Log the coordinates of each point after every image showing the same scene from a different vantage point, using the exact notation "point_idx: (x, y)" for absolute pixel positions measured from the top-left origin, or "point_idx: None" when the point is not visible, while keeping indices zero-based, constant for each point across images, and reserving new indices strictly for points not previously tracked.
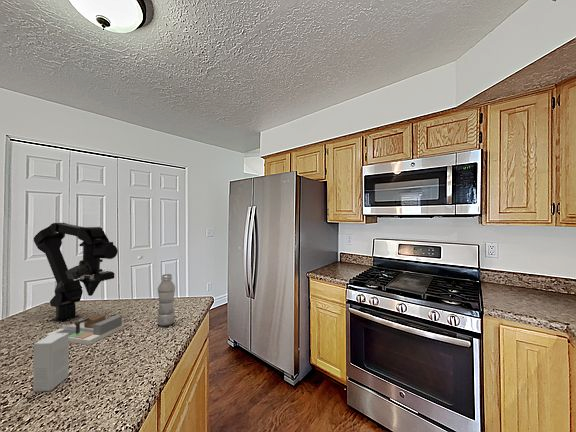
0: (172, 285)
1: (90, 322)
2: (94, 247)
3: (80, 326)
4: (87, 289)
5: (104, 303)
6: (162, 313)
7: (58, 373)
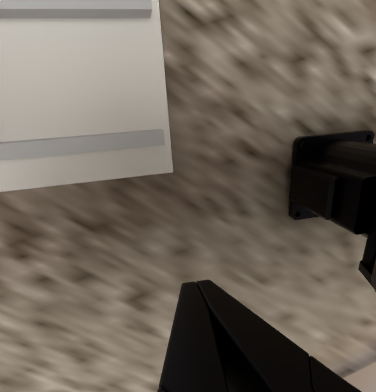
0: None
1: None
2: None
3: (67, 75)
4: (244, 341)
5: (320, 352)
6: None
7: None
